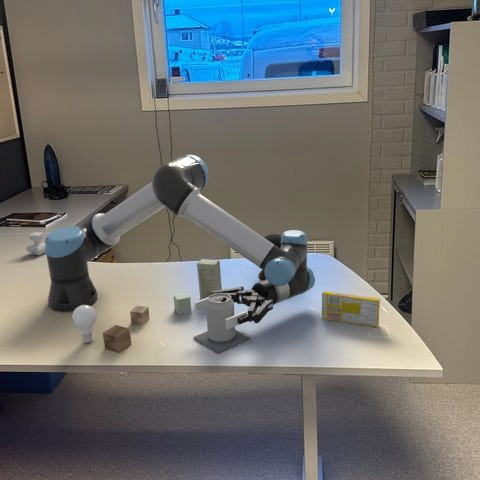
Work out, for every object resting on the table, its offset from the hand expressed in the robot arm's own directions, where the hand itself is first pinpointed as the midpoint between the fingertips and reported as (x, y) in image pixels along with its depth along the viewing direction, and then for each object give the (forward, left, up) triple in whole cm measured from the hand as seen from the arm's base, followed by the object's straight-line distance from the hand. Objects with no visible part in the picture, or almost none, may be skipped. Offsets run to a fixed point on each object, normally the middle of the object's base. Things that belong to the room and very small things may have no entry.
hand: (210, 315), depth 148 cm
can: (0, +3, -8) cm, 9 cm away
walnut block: (-16, -20, -8) cm, 27 cm away
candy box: (+17, +36, -9) cm, 41 cm away
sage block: (-22, +5, -8) cm, 24 cm away
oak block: (-25, -8, -8) cm, 28 cm away
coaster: (0, +3, -8) cm, 9 cm away
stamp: (-105, -8, -9) cm, 105 cm away
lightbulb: (-24, -25, -9) cm, 35 cm away
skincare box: (-24, +17, -9) cm, 31 cm away
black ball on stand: (-22, +43, -9) cm, 49 cm away
